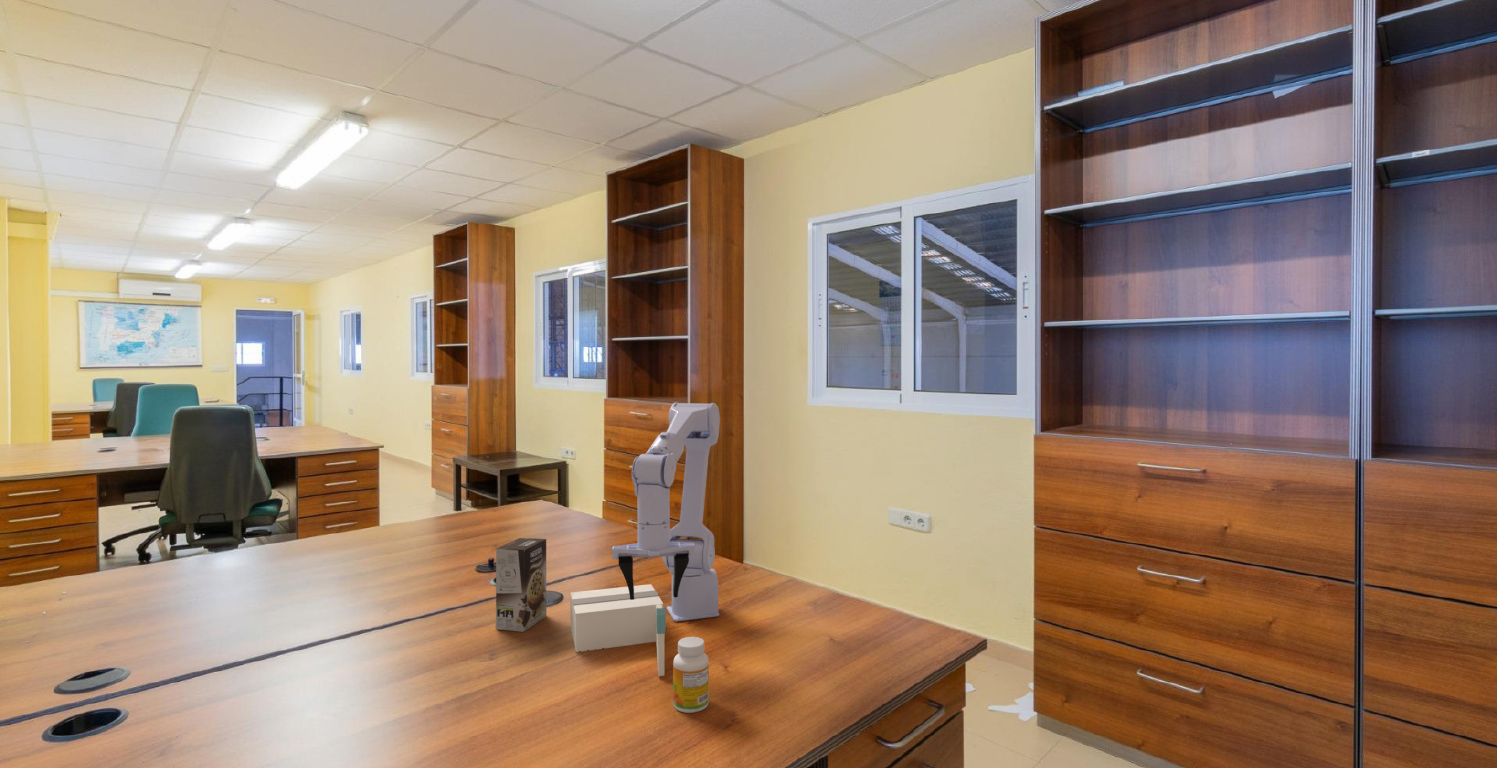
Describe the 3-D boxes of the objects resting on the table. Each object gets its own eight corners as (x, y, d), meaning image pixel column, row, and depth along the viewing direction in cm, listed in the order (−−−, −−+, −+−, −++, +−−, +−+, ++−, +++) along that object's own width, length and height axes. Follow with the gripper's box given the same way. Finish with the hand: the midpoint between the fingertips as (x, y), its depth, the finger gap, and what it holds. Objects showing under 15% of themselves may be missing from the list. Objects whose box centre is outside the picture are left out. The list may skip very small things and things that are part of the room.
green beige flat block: (655, 642, 125) (655, 587, 124) (662, 641, 125) (662, 587, 125) (657, 676, 111) (657, 615, 111) (665, 675, 111) (665, 614, 111)
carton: (651, 618, 137) (651, 583, 137) (663, 640, 126) (663, 602, 126) (570, 627, 132) (570, 591, 132) (575, 652, 121) (575, 613, 121)
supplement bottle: (673, 696, 105) (673, 635, 104) (708, 695, 105) (708, 634, 105) (672, 714, 99) (672, 649, 99) (709, 713, 100) (709, 648, 100)
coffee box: (524, 632, 130) (524, 549, 129) (494, 630, 131) (494, 548, 131) (548, 615, 139) (547, 538, 138) (519, 613, 140) (519, 536, 140)
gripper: (611, 528, 115) (611, 607, 115) (696, 525, 117) (696, 602, 117) (612, 518, 122) (613, 593, 122) (692, 516, 124) (692, 588, 124)
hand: (653, 596), depth 120 cm, fingers open, 7 cm apart
